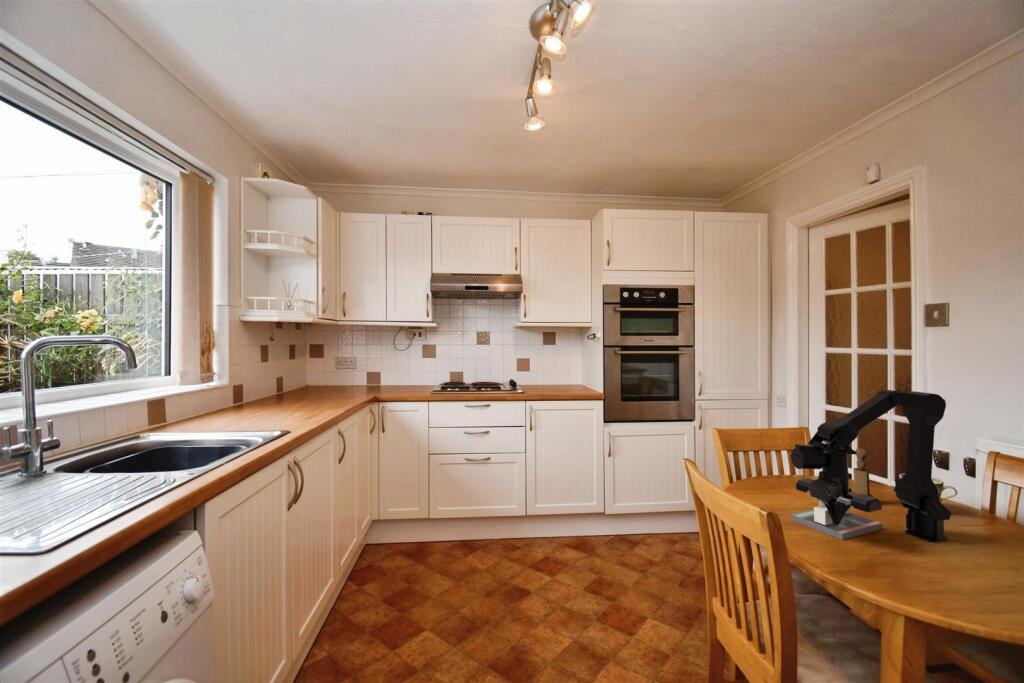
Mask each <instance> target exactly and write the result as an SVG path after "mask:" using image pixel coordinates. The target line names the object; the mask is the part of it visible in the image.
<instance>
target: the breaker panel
mask: <svg viewBox="0 0 1024 683" xmlns="http://www.w3.org/2000/svg"><path fill="white" fill-rule="evenodd" d="M790 519H791V520H792V521H794V522H796V523H799V524H802V525H804V526H806V527H809V528H812V529H814V530H817V531H819V532H821V533H824V534H827V535H829V536H831V537H835V538H836V539H839V540H842V541H843V540H847V539H850V538H855V537H858V536H861V535H865V534H868V533H873V532H876V531H879V530H883V529H884V523H883V522H879V521H877V520H873V519H871V518H869V517H865V516H862V515H858V514H855V513H853V512H851V513H848V514H845V515H844V517H843V519H842V520H841V522H840V524H839V525H835V524H834V523H833V521H832V524H828V525H823V524H821V523H818V522H816V521H814V508H813V509H809V510H805V511H800V512H796V513H792V514H790Z"/></svg>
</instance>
